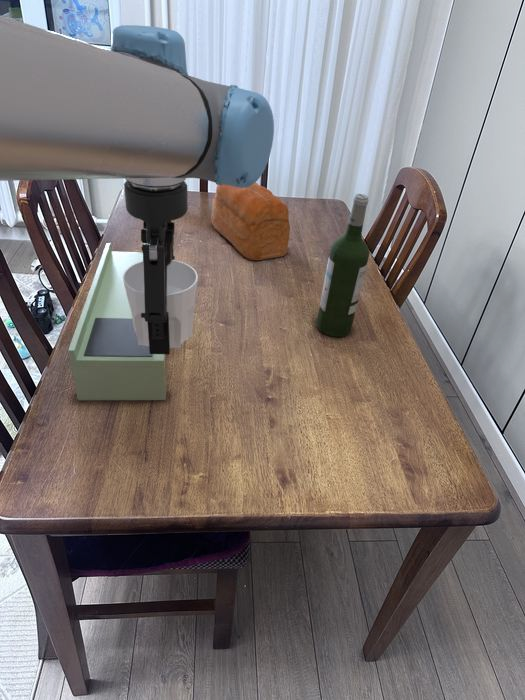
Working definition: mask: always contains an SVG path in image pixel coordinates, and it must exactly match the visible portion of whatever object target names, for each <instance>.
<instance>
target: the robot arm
mask: <svg viewBox="0 0 525 700" xmlns="http://www.w3.org/2000/svg"><path fill="white" fill-rule="evenodd" d="M274 134H275V120H274V113H273V110H272V107H271V105H270V103H269V101H268V100H267V98H266V97H265V96H264V95H262V94H261V93H259V92H256V91H251V90H249V89H244V88H240V87H239V86H238V85H236V84H235V85H234V84H230V85H226V84H221V83H216V82H212V81H207V80H204V79H200V78H197V77H195V76H191V75H189V74H188V68H187V56H186V42H185V40H184V38H183V36H182V34H181V33H179V31H176V30H173V29H170V28H166V27H159V26H151V25H150V26H149V25H135V24H134V25H133V24H129V25H128V24H123V25H118V26H116V27H114V28H113V30H112V31H111V46H110V49H107V48H104V47H101V46H97V45H95V44H92V43H88V42H85V41H83V40H79V39H75V38H72V37H70V36H68V35H67V36H66V35H63V34H60V33H57V32H54V31H51V30H47V29H46V28H45V29H44V28H41V27H38V26H35V25H31V24H28V23H25V22H23V21H19V20H16V19H13V18H10V17H7V16H4V15H0V182H2V181H3V182H4V181H5V182H6V181H11V182H12V181H59V180H60V181H63V180H65V181H66V180H112V179H113V180H115V179H117V180H118V179H124V180H125V181H124V183H123V188H124V199H125V209H126V211H127V214H129V215H130V216H131V217H133V218H135V219H137V220H141V221H142V227H143V228H141V230H140V241H141V243H142V244H141V245H142V246H141V251H142V252H143V262H144V294H145V313H141V318H144V319H145V321H146V322H148V336H149V350H150V354H166V355H171V354H170V353H171V348H170V342H169V315H168V312H167V266H168V265H169V264H170V263H171V262H172V260H174V255H173V254H174V244H175V243H174V241H175V237H174V236H175V232H176V231H175V227H176V225H175V224H176V223H175V221H177V220H179V219H181V218H182V217H185V215H186V214H187V212H188V208H189V207H188V205H189V203H188V184H187V182H186V181H185V180H187V179H198V180H205V181H209V182H211V183H215V185H216V186H217V185H220V186H222V185H229V186H234V187H239V188H246V187H249V186H251V185H253V184H254V183H255V182H256V183H257V182H258V180H259V179H260V178H261V176H262V175H263V173H264V172H265V170H266V168H267V165H268V163H269V160H270V157H271V152H272V148H273V142H274V137H275V135H274Z"/></svg>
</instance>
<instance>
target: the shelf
mask: <svg viewBox="0 0 525 700" xmlns="http://www.w3.org/2000/svg"><path fill="white" fill-rule="evenodd" d="M103 248H104V249H103V251H102V254H101V257H100V260H99V262H98V265H97V268H96V271H95V272H94V273H95V274H94V277H93V279H92V282H91V285H90V288H89V291H88V293H87V296H86V298H85V302H84V305H83V307H82V310H81V313H80V316H79V318H78V321H77V324H76V327H75V330H74V332H73V336H72V338H71V341H70V344H69V347H68V350H67V352H68V356H69V361H70V368H71V373H72V378H73V382H74V388H75V393H76V398H77V401H166V400H167V380H166V378H167V377H166V355H167V354H150V350H149V347H148V346H145V345H138V339H137V333H135V331H134V325H133V319H132V314H131V308H130V305H129V302H128V298H127V294H126V290H125V286H124V281H123V274H124V272H125V271H126V269H127V268H129V267H130V266H132V265H133V264H136V263H138V262H141V261H143V251H142V252H141V251H139V252H138V251H115V250H114V251H113V250H112V243H111V242H106V243H105V246H104V247H103ZM173 255H174V260H176V254H175V253H173Z"/></svg>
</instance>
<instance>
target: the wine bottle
mask: <svg viewBox="0 0 525 700" xmlns="http://www.w3.org/2000/svg"><path fill="white" fill-rule="evenodd" d="M368 203H369V196H368V195H367V194H364V193H356V194H355V195H354V197H353V200H352V206H351V210H350V215H349V218H348V223H347V227H346V231H345V233H344V235H342V236H341V237H339V238H337V239H336V240H334V241H333V242H332V243H331V246H330V249H329V254H328V260H327V265H326V271H325V274H324V275H325V276H324V280H323V286H322V290H321V291H322V292H321V295H320V301H319V307H318V311H317V317H316V318H317V319H316V328H317V329H318V330H319V331H320V332H321V333H323V334H325V335H326V336H329V337H334V338H342V337H345V336H348V335H349V334H350V333H351V331H352V327H353V323H354V319H355V316H356V311H357V306H358V303H359V299H360V295H361V290H362V286H363V282H364V278H365V274H366V270H367V266H368V262H369V257H370V250H369V246H368V245H367V243H366V242H365V241H364V239H363V236H362V233H363V227H364V223H365V216H366V212H367V206H368Z"/></svg>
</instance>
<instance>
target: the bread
mask: <svg viewBox="0 0 525 700" xmlns="http://www.w3.org/2000/svg"><path fill="white" fill-rule="evenodd" d="M289 213H290V211H289V208H288V205H287V204H285V203H283V201H282V200H280V199H279V198H278V197H277V196H276V195H274V194H273V192H272V191H271V190H269V189H268V188H266V187H265V186H262V185H260V184H258V183H257V181H256V182H255V183H254V184H253V185H251V186H249V187H246V188H239V187H234V186H229V185H222V186H220V185H217V184H216V188H215V195H214V197H213V198H212V209H211V216H210V219H211V222H212V226H213V228H214V229H215V230H216V231H217V232H218V233H219V234H220V235H221V236H222V237H224V238H225V239H226V240H227V241H228V242H229V243H230V244H231V245H232V246H233V247H234V248H235V249H236V250H237V251H238V253H240V254H241V255H242V256H243V257H245V258H246V259H248V260H249V261H250V260H251V261H262V260H263V261H264V260H269V259H274V258H280V257H284V256H285V255H286V254H287V253H288V248H289V242H290V234H291V225H290V219H289V216H290V214H289Z"/></svg>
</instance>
